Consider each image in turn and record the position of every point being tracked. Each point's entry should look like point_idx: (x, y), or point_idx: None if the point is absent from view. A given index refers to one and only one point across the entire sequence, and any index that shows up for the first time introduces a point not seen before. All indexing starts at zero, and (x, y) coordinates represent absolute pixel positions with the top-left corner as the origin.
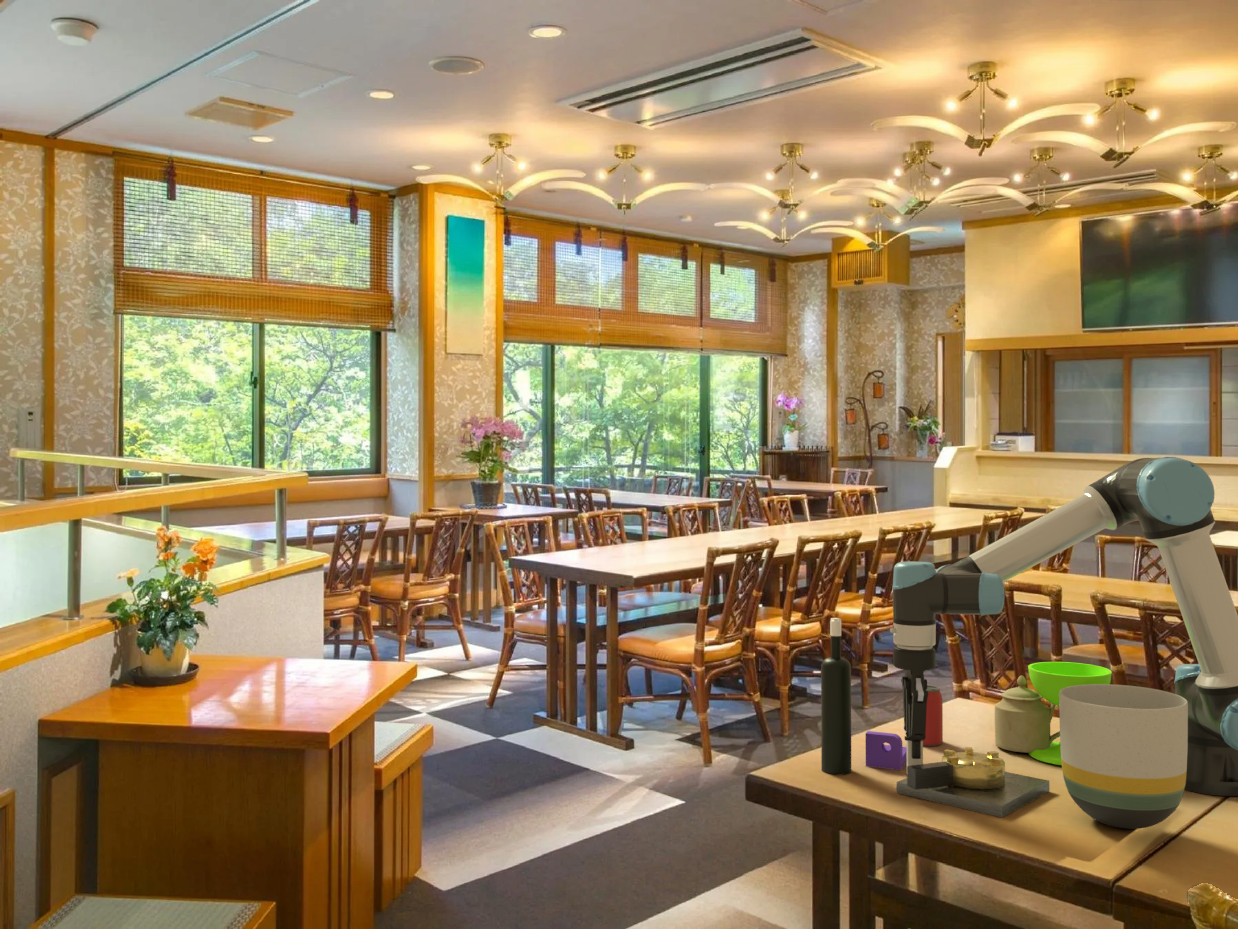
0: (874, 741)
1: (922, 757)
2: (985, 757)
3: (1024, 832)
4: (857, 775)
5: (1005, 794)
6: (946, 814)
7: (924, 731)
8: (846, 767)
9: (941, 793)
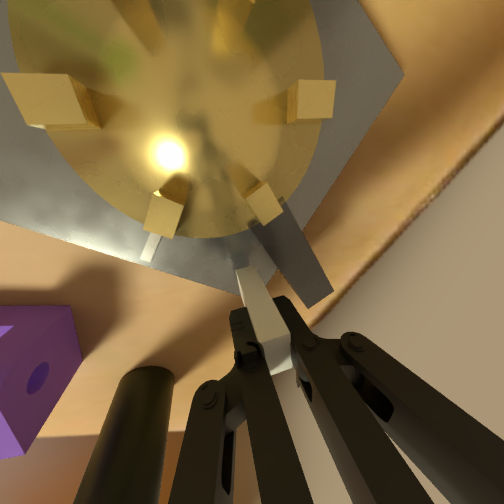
0: (36, 413)
1: (268, 292)
2: (110, 4)
3: (458, 51)
4: (162, 354)
5: (319, 29)
6: (351, 206)
7: (398, 365)
8: (161, 379)
9: (307, 219)
